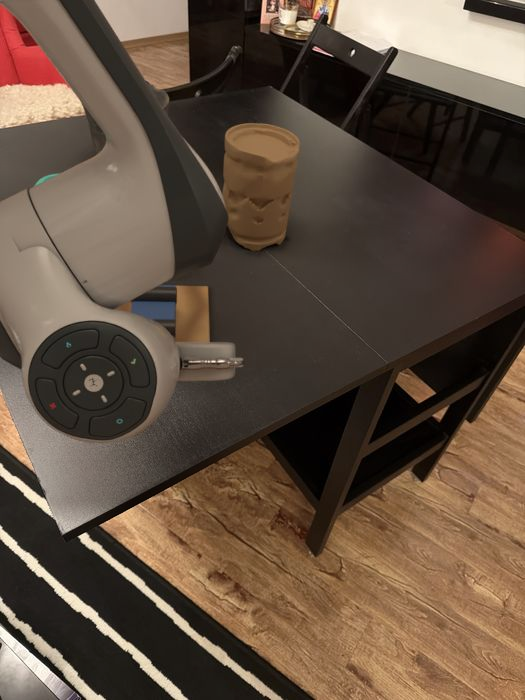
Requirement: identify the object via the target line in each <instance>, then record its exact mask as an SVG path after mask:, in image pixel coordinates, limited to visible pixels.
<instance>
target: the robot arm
mask: <svg viewBox="0 0 525 700" xmlns="http://www.w3.org/2000/svg"><path fill="white" fill-rule="evenodd" d="M0 6H2V7H3V8H5V9H6V10H7V11H8V12H9V13H10V14H11V15H12V16H13V17H14V18H15V19H16V20H17V21H18V22H19V23H20V24H21V25H22V27H23V28H24V29H25V30H26V31H27V32H28V33H29V35H30V36H31V38H32V39H33V40H34V42H35V43H36V44H37V46H38V47H39V49H40V50H41V51H42V53H44V55H45V56H46V58H47V59H48V60H49V62H50V63H51V65H52V66H53V67H54V68H55V70H56V71H57V72H58V73H59V75H60V76H61V78H63V80H64V82H65V83H66V85H68V87H69V88H70V89H71V91H72V93H74V95H75V96H76V97H77V99H78V100H79V101H80V103H81V105H82V104H83V105H84V107H85V108H86V109H87V111H88V112H89V113H90V115H91V116H92V117H93V119H94V120H95V121H96V122H97V124H98V125H99V126H100V128H101V129H102V130H103V132H104V134H105V136H106V144H105V147H104V148H103V150H102V151H101V152H100V153H99V154H97V153H96V155H94V156H92V157H91V158H88V159H87V160H85V161H82V162H80V163H78V164H76V165H74V166H73V167H70V168H68V169H67V170H64V171H62V172H60V174H59V173H57V174H58V175H56V176H54V177H52V178H50V179H48V180H46V181H44V182H42V183H40V184H38V185H36V186H35V185H34V186H32V187H27V188H25V189H22V190H21V191H19V192H17V193H15V194H13V195H11V196H9V197H7V198H4V199H2V200H0V359H2V360H3V361H4V362H7V364H9V365H12V366H13V367H16V368H18V369H19V370H21V379H22V384H23V388H24V392H25V395H26V397H27V400H28V401H29V403H30V405H31V407H32V408H33V410H34V411H35V413H36V415H37V416H38V417H39V418H40V419H41V420H42V421H43V422H44V423H45V424H46V425H47V426H48V427H49V428H51V429H52V430H53V431H55V432H57V433H59V434H61V435H62V436H64V437H66V438H70V439H72V440H75V441H78V442H83V443H86V444H108V443H109V444H110V443H114V442H115V443H116V442H119V441H123V440H126V439H129V438H132V437H134V436H136V435H138V434H140V433H142V432H143V431H144V430H146V429H147V428H148V427H149V426H151V425H152V424H153V423H154V422H155V421H156V420H157V419H158V418H159V417H160V415H161V414H163V412H164V411H165V409H166V408H167V407H168V405H169V404H170V401H171V399H172V398H173V395H174V393H175V390H176V386H177V383H178V382H218V381H219V382H220V381H226V380H231V379H233V378H234V377H235V375H236V368H243V367H244V364H245V361H244V358H242V357H240V356H239V357H237V356H236V344H235V343H233V342H230V341H210V342H175V340H174V338H173V337H172V335H171V334H170V333H169V332H168V331H167V330H166V329H165V328H164V327H163V326H162V325H161V324H159V323H158V322H156V321H154V320H152V319H149V318H147V317H144V316H141V315H138V314H134V313H131V312H127V311H121V310H115V309H116V308H118V307H120V306H122V305H124V304H125V303H127V302H129V301H131V300H133V299H135V298H137V297H138V296H140V295H142V294H144V293H146V292H148V291H150V290H151V289H153V288H155V287H157V286H159V285H164V283H166V282H168V281H171V282H172V281H174V280H177V279H180V278H182V277H184V276H187V275H189V274H192V273H193V272H196V271H198V270H200V269H203V268H205V267H207V266H210V265H212V263H213V262H214V260H215V258H216V255H217V254H218V252H219V249H220V247H221V244H222V243H223V240H224V238H225V234H226V231H227V228H228V226H227V224H228V219H229V217H228V214H227V211H226V206H225V202H224V198H223V195H222V190H221V188H220V186H219V184H218V182H217V180H216V179H215V177H214V175H213V173H212V172H211V170H210V169H209V167H208V166H207V164H206V163H205V162H204V160H203V159H202V158H201V157H200V155H199V154H198V153H197V152H196V150H195V149H194V147H192V146H191V145H190V143H188V141H187V140H186V139H185V137H183V136H182V135H181V133H180V132H179V130H178V128H177V127H176V125H175V124H174V123H173V121H172V120H171V118H170V117H169V114H168V115H167V114H166V112H165V111H164V109H163V108H162V106H161V104H160V103H159V101H158V100H157V98H156V97H155V95H154V93H153V92H152V90H151V89H150V87H149V86H148V84H149V83H147V81H146V80H145V78H144V76H143V74H142V73H141V72H140V70H139V68H138V67H137V65H136V63H135V62H134V60H133V59H132V57H131V56H130V53H129V52H128V51H127V49H126V48H125V46H124V44H123V43H122V41H121V40H120V38H119V36H118V35H117V33H116V32H115V31H114V29H113V27H112V25H111V24H110V22H109V21H108V19H107V18H106V15H105V14H104V12H102V9H101V8H100V6H99V5H98V3H97V2H96V0H0Z"/></svg>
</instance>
